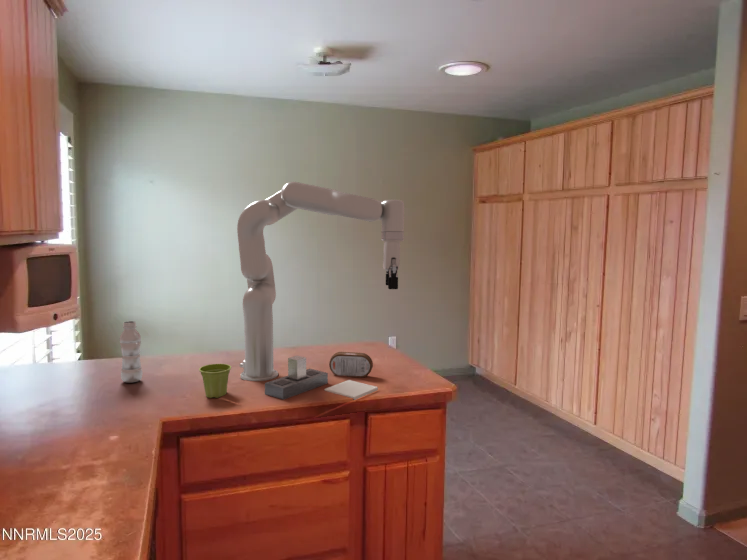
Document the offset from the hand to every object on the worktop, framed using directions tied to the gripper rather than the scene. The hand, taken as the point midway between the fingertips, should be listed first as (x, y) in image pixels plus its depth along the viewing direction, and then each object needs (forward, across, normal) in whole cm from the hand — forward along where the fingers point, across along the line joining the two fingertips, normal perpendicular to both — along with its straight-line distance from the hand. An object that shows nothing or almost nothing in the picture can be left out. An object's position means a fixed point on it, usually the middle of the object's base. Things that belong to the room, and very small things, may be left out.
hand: (391, 287), depth 183 cm
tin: (+32, 0, -14) cm, 34 cm away
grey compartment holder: (+31, +14, -31) cm, 46 cm away
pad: (+31, +16, -14) cm, 38 cm away
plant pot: (+31, +18, -56) cm, 66 cm away
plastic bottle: (+31, +4, -86) cm, 91 cm away
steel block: (+31, +14, -31) cm, 46 cm away
